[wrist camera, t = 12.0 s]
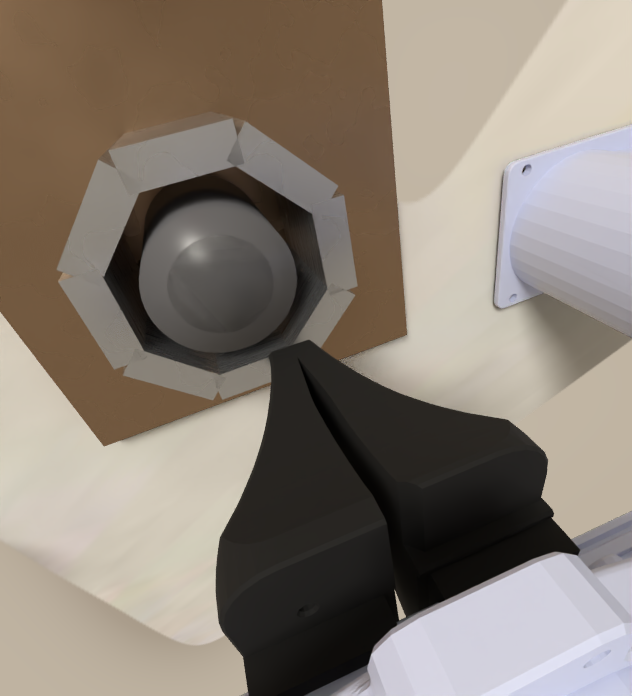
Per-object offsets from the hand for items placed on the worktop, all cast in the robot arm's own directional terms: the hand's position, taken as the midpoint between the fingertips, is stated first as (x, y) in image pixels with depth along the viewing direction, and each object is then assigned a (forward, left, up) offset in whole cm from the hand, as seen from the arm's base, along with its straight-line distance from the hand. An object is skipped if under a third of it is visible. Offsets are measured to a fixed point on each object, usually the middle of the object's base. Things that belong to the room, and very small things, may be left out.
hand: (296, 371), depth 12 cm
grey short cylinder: (+1, -3, -6) cm, 7 cm away
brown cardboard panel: (+1, -3, -7) cm, 8 cm away
